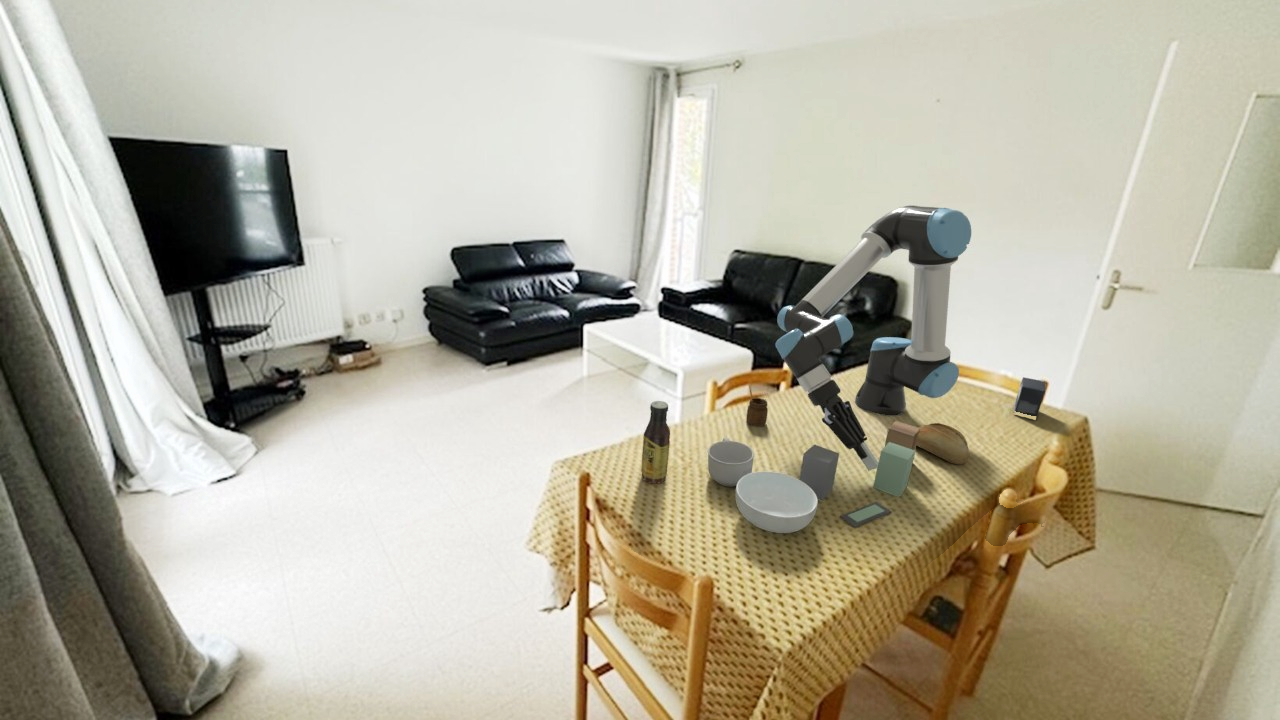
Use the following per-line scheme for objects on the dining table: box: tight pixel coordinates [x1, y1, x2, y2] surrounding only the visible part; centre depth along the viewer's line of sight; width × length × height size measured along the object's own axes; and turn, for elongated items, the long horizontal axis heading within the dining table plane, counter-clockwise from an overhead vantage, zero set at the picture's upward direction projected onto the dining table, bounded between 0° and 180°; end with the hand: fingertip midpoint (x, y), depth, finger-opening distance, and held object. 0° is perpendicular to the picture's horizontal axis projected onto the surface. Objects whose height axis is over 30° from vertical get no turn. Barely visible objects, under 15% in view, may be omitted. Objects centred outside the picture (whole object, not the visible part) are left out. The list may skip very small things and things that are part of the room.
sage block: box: [873, 442, 916, 498], centre depth 125 cm, size 6×6×10 cm
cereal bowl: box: [735, 470, 819, 534], centre depth 111 cm, size 17×17×7 cm
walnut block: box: [884, 420, 920, 451], centre depth 136 cm, size 6×6×10 cm
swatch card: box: [839, 501, 892, 529], centre depth 115 cm, size 12×4×1 cm, turn 119°
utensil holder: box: [745, 384, 771, 427], centre depth 155 cm, size 6×6×12 cm
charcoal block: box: [799, 444, 840, 502], centre depth 122 cm, size 6×6×10 cm
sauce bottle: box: [640, 400, 671, 484], centre depth 123 cm, size 7×6×20 cm
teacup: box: [707, 436, 755, 488], centre depth 127 cm, size 14×11×8 cm
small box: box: [1013, 377, 1046, 417], centre depth 169 cm, size 11×6×10 cm, turn 144°
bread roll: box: [916, 422, 970, 465], centre depth 142 cm, size 10×15×8 cm, turn 35°
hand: (874, 467), depth 128 cm, fingers closed
